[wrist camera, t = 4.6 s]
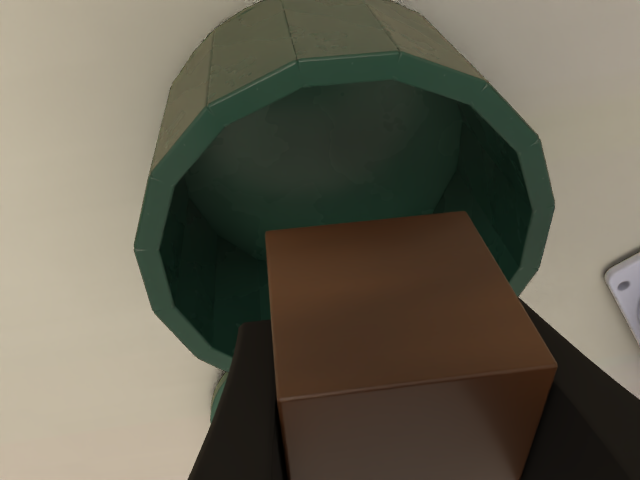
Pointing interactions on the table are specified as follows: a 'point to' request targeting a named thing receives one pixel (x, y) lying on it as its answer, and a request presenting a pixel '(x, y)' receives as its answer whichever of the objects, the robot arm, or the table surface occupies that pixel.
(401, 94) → the pot
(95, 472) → the table surface
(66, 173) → the table surface
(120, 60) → the table surface
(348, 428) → the block
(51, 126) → the table surface
